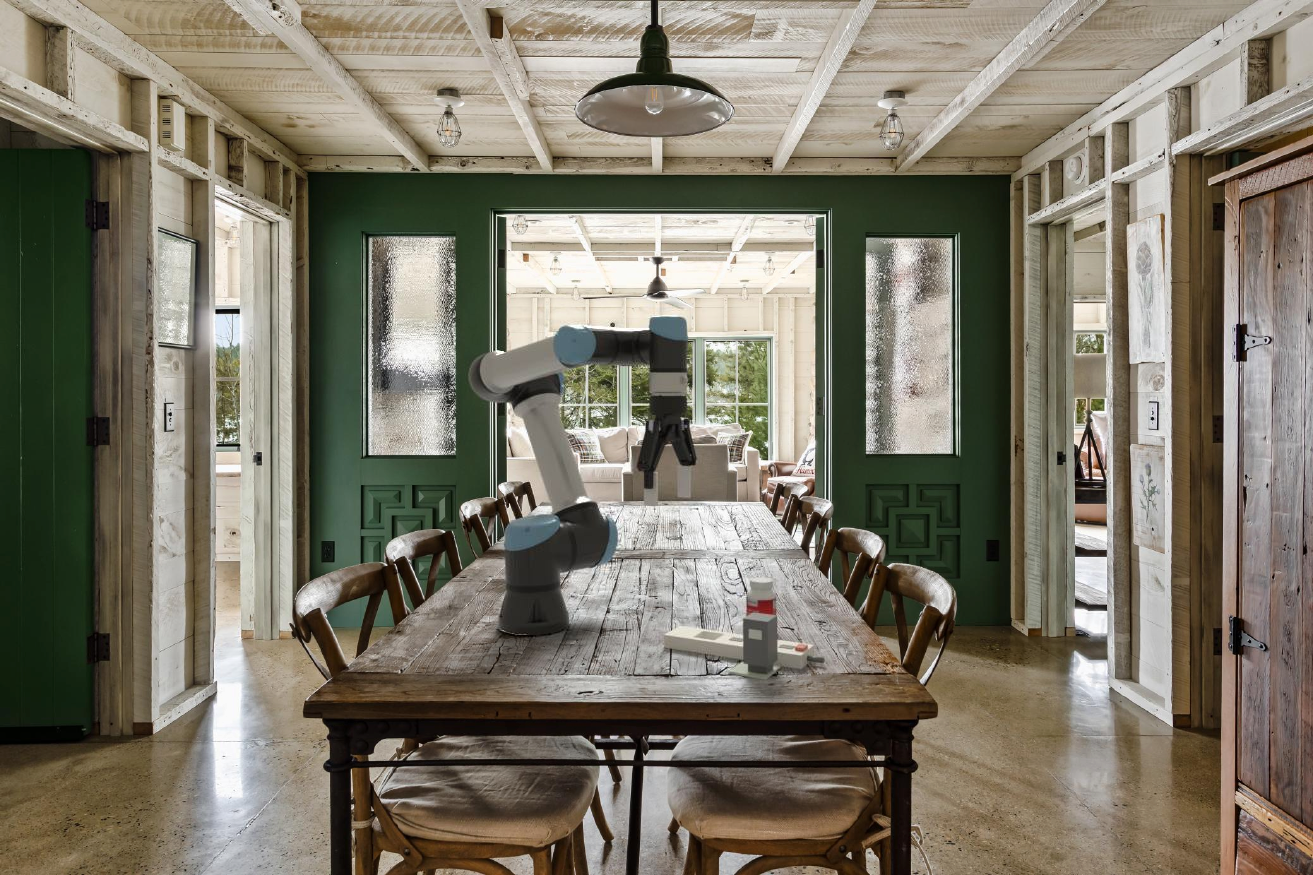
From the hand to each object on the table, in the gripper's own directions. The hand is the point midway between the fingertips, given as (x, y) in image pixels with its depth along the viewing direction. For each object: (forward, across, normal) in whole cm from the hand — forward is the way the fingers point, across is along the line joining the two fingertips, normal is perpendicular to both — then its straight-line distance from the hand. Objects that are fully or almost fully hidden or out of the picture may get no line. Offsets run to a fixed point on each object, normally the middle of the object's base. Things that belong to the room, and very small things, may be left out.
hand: (668, 501), depth 163 cm
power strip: (+28, -1, -17) cm, 33 cm away
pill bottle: (+28, +13, -15) cm, 34 cm away
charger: (+27, -10, -24) cm, 37 cm away
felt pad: (+28, -9, -23) cm, 37 cm away
